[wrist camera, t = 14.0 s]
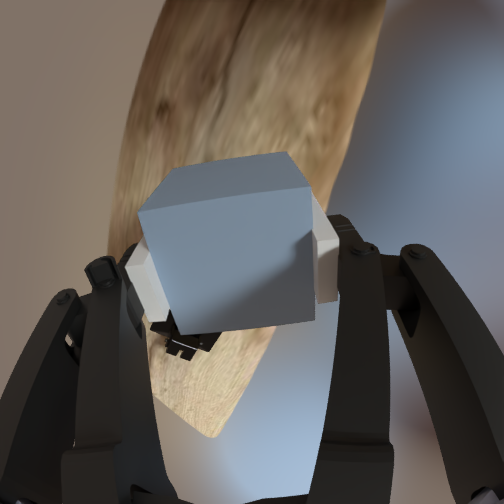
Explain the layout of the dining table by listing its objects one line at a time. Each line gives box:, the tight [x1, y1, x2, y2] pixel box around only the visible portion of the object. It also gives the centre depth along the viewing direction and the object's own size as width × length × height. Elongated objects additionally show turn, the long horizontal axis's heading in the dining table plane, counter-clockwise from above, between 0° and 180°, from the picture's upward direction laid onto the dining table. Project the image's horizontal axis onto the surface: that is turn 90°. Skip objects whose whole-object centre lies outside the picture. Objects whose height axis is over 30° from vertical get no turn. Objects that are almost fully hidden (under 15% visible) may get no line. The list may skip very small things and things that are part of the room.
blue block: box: [137, 152, 315, 335], centre depth 14 cm, size 6×6×6 cm
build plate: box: [150, 309, 222, 361], centre depth 39 cm, size 12×7×5 cm, turn 61°
